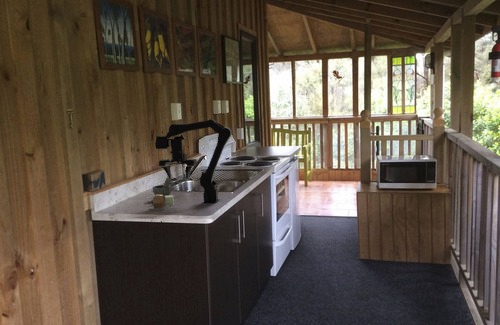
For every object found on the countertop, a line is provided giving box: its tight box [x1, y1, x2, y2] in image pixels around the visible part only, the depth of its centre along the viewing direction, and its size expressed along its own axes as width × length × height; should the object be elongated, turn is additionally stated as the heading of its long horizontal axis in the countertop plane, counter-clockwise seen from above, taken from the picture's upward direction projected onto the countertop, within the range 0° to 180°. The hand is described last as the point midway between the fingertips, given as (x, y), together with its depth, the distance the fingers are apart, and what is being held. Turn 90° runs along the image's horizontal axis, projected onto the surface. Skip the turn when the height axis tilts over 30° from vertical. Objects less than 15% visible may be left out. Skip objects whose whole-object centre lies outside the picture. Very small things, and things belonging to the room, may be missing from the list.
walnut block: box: [152, 195, 166, 208], centre depth 219 cm, size 4×4×5 cm
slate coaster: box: [148, 205, 171, 211], centre depth 220 cm, size 8×8×1 cm
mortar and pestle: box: [152, 176, 172, 196], centre depth 239 cm, size 11×9×12 cm
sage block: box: [165, 194, 175, 206], centre depth 228 cm, size 5×5×4 cm
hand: (178, 179), depth 229 cm, fingers open, 9 cm apart
